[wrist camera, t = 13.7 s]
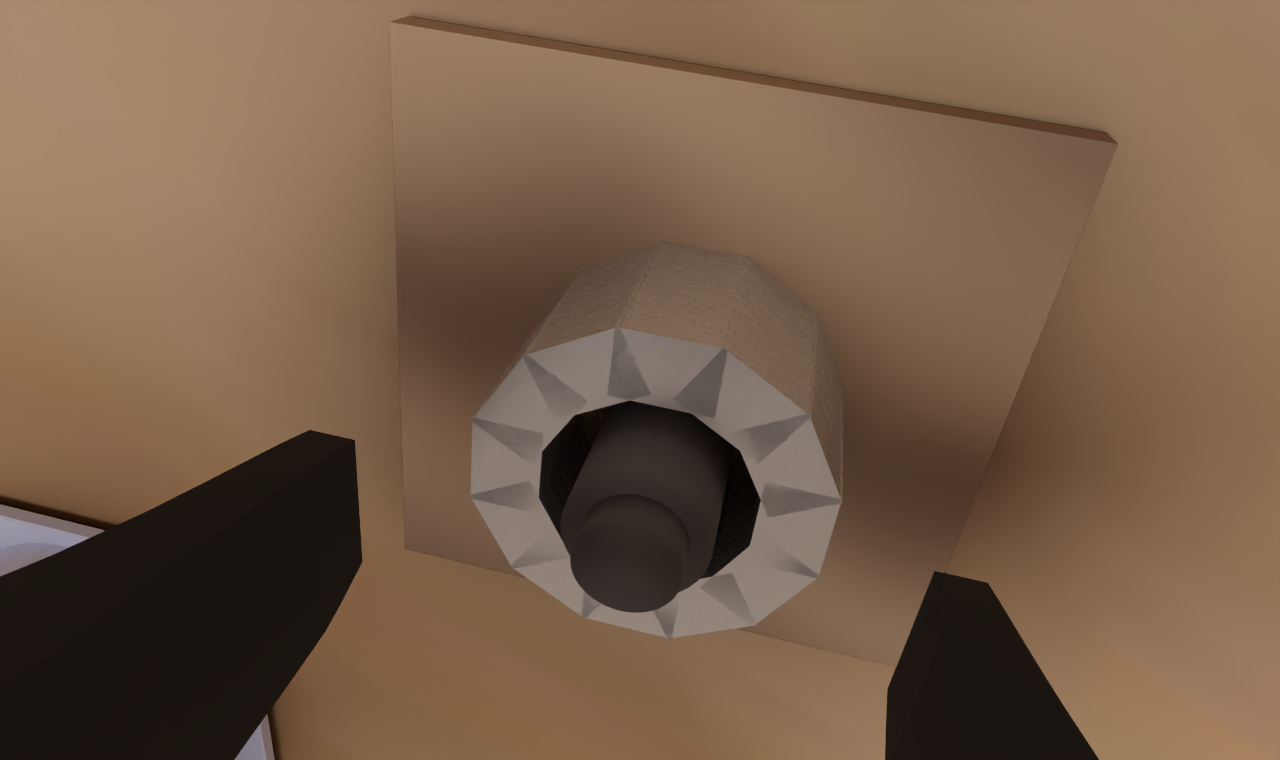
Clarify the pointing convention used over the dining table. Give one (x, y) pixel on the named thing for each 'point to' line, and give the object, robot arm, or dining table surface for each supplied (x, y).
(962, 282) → the shaft stand
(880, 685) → the dining table surface
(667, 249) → the tube
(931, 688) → the robot arm
